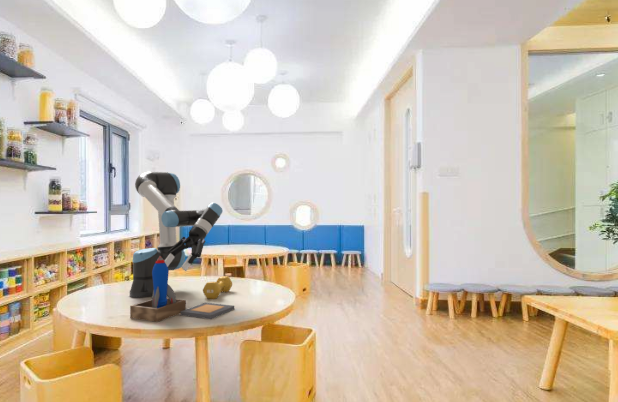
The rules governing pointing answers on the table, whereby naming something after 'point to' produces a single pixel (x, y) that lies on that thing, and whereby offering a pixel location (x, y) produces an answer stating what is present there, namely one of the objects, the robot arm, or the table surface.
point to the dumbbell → (217, 287)
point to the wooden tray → (156, 310)
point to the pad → (207, 310)
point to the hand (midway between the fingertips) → (173, 268)
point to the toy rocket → (161, 285)
